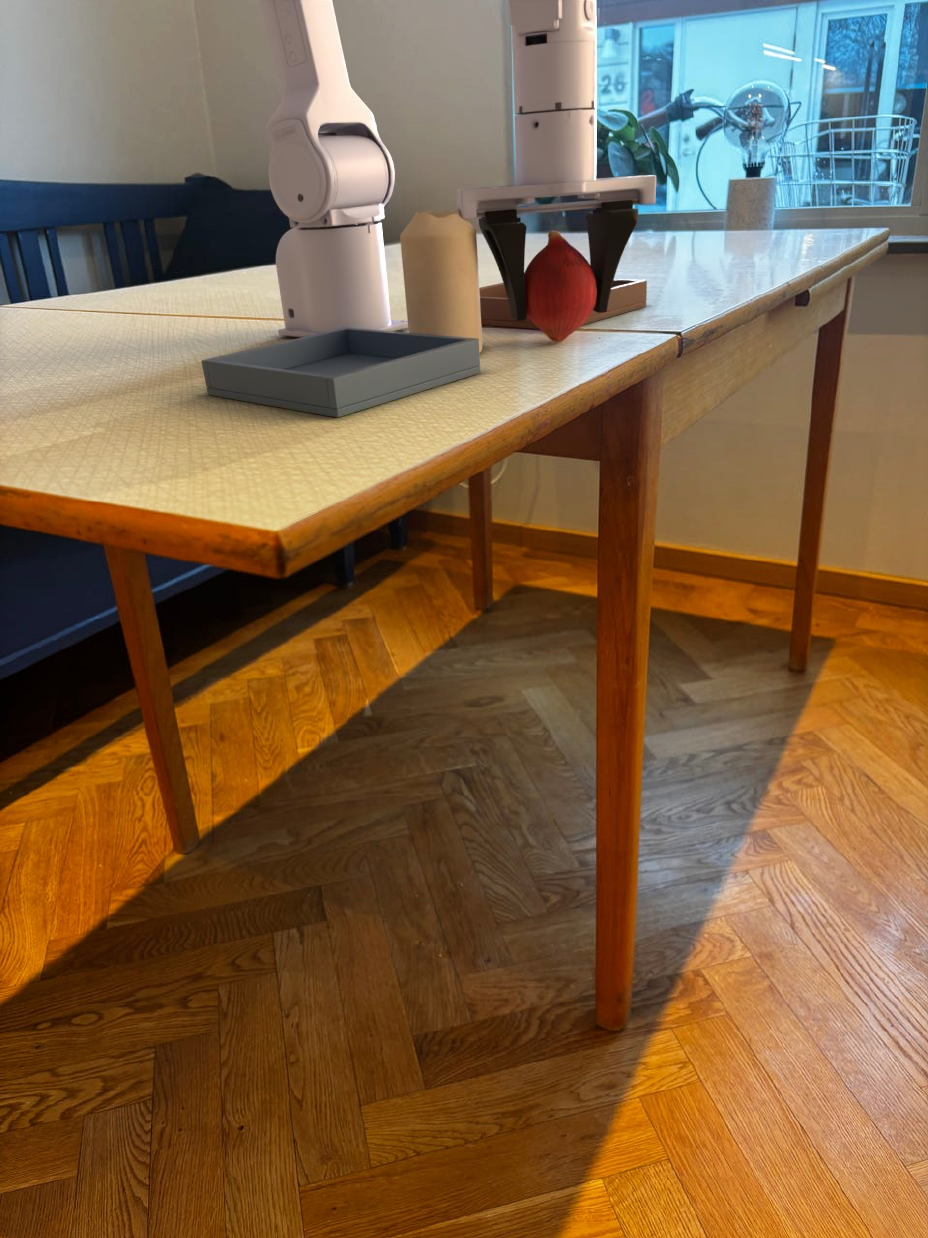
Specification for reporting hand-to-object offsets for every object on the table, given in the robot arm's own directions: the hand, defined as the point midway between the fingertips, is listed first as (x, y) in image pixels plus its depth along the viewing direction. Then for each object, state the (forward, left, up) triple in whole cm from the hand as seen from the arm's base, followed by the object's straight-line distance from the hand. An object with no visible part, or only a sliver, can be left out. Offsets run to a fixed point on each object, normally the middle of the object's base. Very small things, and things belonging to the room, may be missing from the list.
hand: (558, 314), depth 70 cm
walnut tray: (-9, +11, -2) cm, 14 cm away
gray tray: (-5, -18, -2) cm, 19 cm away
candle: (-5, -7, -2) cm, 9 cm away
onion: (0, 0, -2) cm, 2 cm away
